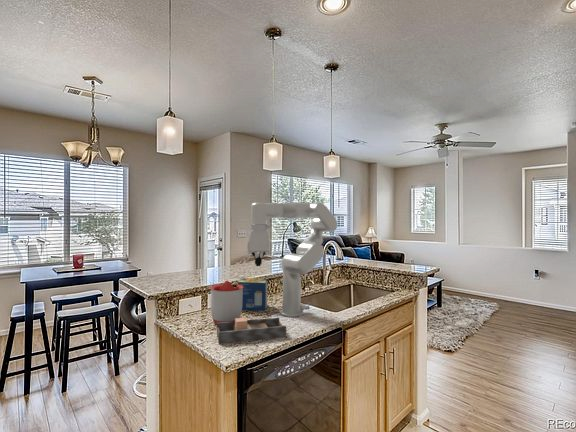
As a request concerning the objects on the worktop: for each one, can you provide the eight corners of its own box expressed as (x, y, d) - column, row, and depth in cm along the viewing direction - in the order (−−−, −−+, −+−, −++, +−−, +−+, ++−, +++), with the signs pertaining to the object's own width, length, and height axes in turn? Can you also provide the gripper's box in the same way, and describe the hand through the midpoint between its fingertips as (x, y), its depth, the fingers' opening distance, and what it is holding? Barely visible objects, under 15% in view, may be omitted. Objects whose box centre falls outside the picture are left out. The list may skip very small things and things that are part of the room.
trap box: (278, 327, 143) (278, 317, 143) (286, 337, 132) (286, 326, 132) (216, 333, 135) (216, 322, 135) (218, 343, 123) (219, 332, 123)
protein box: (240, 304, 178) (241, 277, 178) (267, 305, 178) (267, 278, 178) (237, 310, 168) (237, 281, 168) (265, 311, 167) (265, 282, 167)
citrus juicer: (249, 317, 156) (249, 277, 156) (234, 329, 140) (234, 285, 140) (221, 314, 161) (221, 275, 161) (203, 325, 144) (204, 282, 144)
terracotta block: (245, 326, 135) (245, 317, 135) (247, 330, 130) (247, 320, 130) (234, 327, 133) (235, 318, 133) (236, 331, 129) (236, 321, 129)
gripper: (271, 227, 156) (271, 264, 156) (242, 227, 152) (241, 265, 152) (275, 228, 149) (275, 266, 149) (244, 228, 145) (244, 267, 145)
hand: (258, 265), depth 150 cm, fingers closed
